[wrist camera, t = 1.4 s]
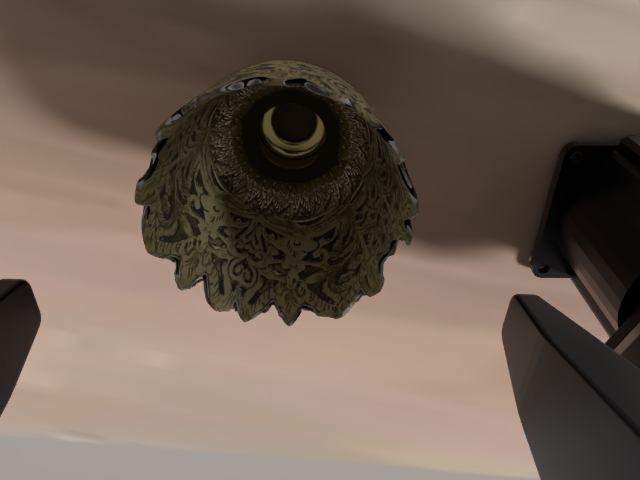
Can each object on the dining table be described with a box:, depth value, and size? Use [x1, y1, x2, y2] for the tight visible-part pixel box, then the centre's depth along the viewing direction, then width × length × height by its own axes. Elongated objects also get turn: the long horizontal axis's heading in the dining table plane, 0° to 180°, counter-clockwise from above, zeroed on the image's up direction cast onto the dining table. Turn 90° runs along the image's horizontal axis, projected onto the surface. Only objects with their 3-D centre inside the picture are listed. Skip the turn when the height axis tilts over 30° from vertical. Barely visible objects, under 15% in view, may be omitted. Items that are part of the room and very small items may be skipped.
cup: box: [135, 60, 419, 326], centre depth 17 cm, size 8×7×8 cm
